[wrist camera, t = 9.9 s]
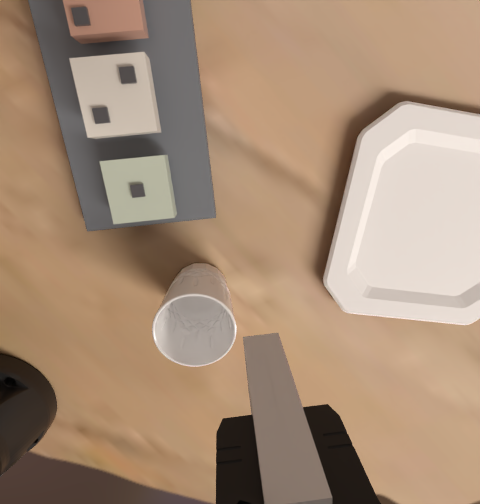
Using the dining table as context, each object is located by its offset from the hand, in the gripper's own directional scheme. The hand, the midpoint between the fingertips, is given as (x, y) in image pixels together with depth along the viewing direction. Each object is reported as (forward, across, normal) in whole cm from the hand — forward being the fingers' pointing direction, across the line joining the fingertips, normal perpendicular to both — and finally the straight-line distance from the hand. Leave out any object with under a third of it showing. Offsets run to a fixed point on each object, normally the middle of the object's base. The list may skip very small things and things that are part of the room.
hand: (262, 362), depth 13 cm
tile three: (+22, -9, +22) cm, 32 cm away
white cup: (+25, -5, -7) cm, 26 cm away
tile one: (+22, -9, +6) cm, 24 cm away
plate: (+25, +24, -2) cm, 35 cm away
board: (+24, -9, +14) cm, 30 cm away
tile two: (+20, -9, +14) cm, 26 cm away
